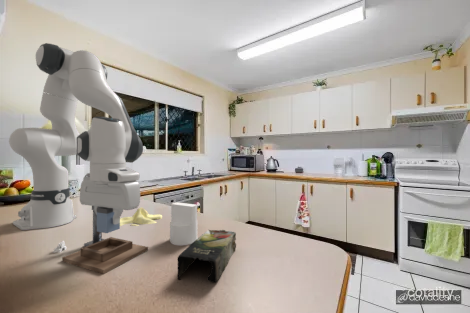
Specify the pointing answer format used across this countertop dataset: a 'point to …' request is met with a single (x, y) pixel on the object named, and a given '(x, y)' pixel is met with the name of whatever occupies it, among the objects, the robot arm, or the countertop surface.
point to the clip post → (95, 231)
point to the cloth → (140, 218)
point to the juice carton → (209, 252)
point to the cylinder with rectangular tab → (183, 223)
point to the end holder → (105, 255)
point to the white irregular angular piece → (60, 247)
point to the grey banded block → (105, 220)
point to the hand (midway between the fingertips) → (108, 222)
